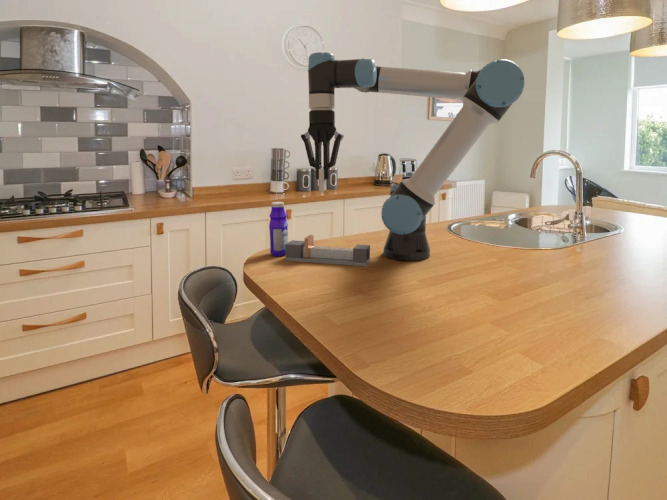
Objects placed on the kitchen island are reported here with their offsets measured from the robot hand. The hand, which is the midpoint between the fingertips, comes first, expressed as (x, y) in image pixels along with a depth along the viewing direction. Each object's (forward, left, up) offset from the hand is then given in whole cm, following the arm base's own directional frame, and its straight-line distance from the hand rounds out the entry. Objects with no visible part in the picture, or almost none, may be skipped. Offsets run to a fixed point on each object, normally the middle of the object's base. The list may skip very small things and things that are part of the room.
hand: (322, 190), depth 144 cm
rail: (-1, 0, -22) cm, 22 cm away
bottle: (+17, -4, -23) cm, 28 cm away
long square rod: (-2, 0, -21) cm, 21 cm away
